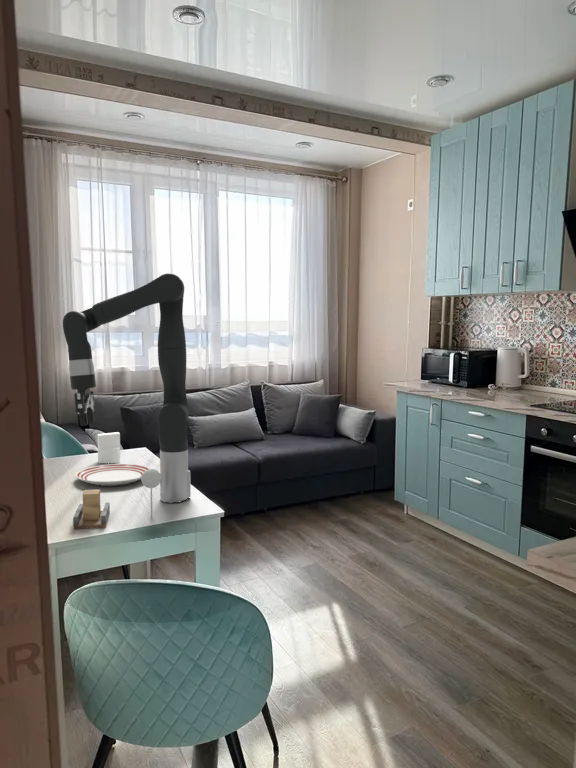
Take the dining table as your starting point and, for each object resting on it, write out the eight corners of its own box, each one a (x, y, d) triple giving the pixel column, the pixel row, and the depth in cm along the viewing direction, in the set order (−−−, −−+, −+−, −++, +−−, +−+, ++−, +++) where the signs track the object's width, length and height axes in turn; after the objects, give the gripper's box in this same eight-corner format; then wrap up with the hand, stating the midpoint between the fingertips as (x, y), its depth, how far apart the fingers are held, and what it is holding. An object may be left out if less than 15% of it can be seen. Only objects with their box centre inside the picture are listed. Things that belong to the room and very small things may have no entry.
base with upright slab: (116, 457, 242) (115, 430, 241) (123, 462, 235) (122, 434, 234) (95, 460, 237) (94, 433, 236) (101, 465, 230) (101, 436, 229)
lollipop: (141, 520, 168) (140, 472, 166) (141, 514, 173) (140, 467, 172) (162, 519, 170) (162, 471, 168) (161, 512, 175) (161, 466, 173)
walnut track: (79, 515, 172) (79, 504, 171) (109, 513, 173) (109, 502, 173) (73, 529, 160) (73, 517, 160) (105, 527, 162) (105, 515, 161)
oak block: (84, 515, 168) (84, 490, 167) (100, 515, 169) (100, 489, 168) (83, 520, 164) (82, 494, 163) (99, 519, 165) (98, 493, 164)
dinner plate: (75, 473, 218) (74, 464, 218) (146, 467, 228) (146, 459, 228) (76, 493, 193) (75, 484, 192) (156, 486, 203) (156, 477, 202)
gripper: (88, 373, 171) (94, 425, 172) (99, 372, 186) (104, 420, 186) (63, 375, 171) (69, 427, 171) (76, 374, 185) (81, 423, 186)
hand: (87, 424), depth 179 cm, fingers open, 8 cm apart
